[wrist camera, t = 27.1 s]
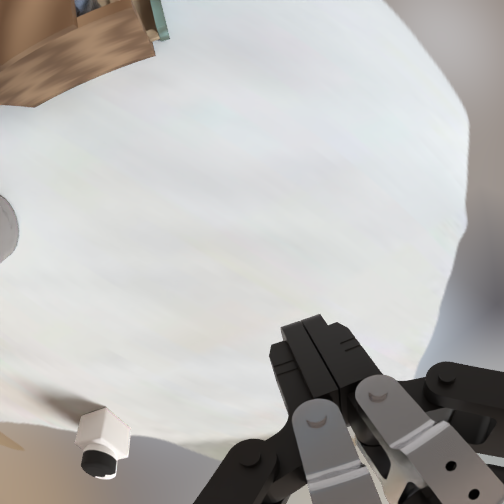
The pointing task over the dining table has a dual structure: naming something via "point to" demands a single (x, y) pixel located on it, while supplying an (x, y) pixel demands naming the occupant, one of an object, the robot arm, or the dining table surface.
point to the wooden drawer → (149, 17)
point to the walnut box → (64, 46)
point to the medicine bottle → (102, 442)
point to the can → (85, 6)
